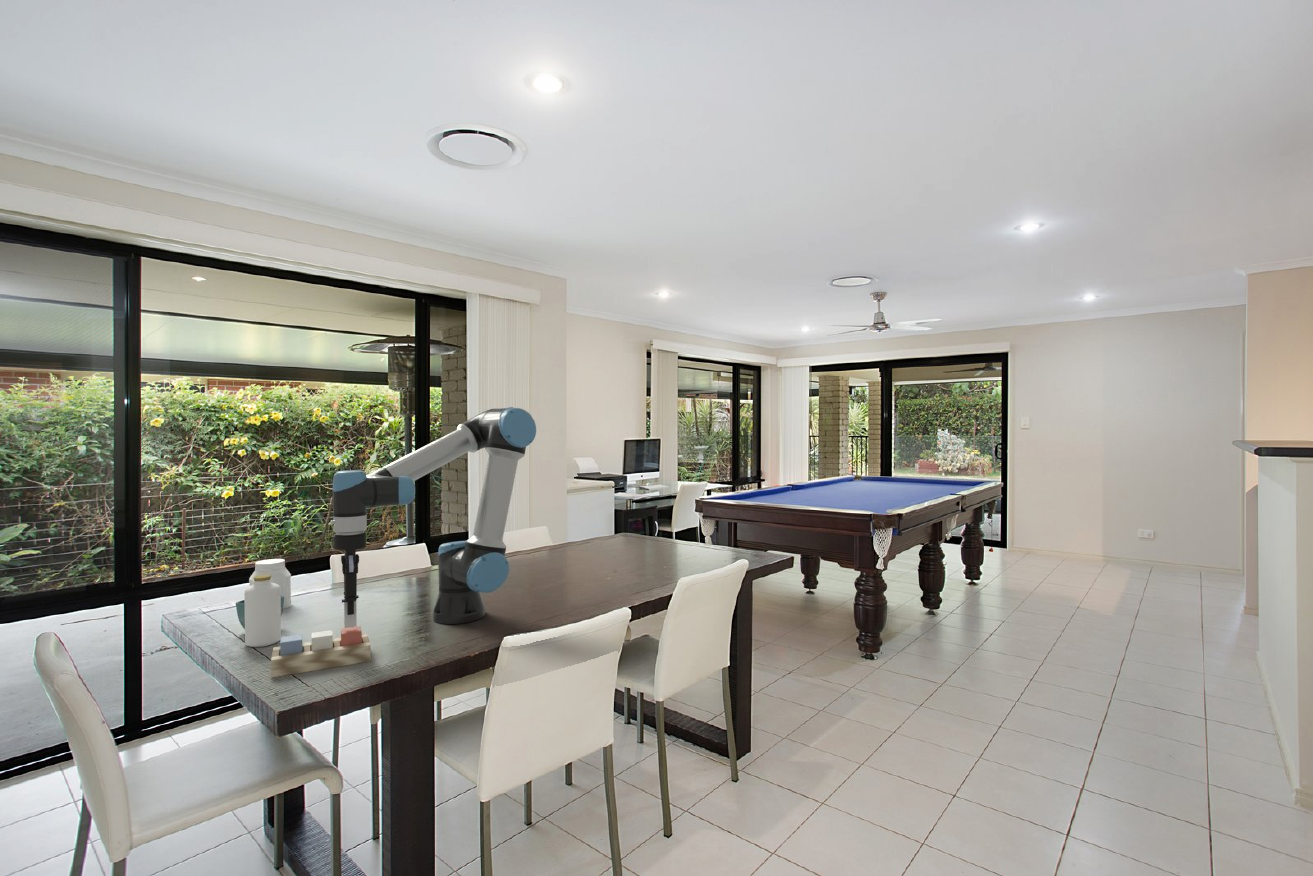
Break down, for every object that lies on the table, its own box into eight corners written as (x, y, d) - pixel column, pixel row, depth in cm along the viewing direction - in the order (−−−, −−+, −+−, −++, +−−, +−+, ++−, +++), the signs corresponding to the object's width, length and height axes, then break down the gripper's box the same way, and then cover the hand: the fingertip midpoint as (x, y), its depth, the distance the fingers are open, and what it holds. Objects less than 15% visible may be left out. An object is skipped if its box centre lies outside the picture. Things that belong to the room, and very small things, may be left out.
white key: (332, 650, 159) (332, 630, 159) (332, 655, 155) (332, 635, 155) (311, 653, 156) (311, 633, 156) (311, 658, 152) (311, 638, 152)
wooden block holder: (367, 649, 165) (367, 633, 165) (370, 661, 156) (370, 645, 156) (273, 663, 155) (273, 647, 155) (271, 677, 146) (271, 660, 146)
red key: (360, 645, 162) (360, 626, 162) (361, 651, 158) (361, 631, 158) (341, 648, 159) (340, 629, 159) (341, 654, 156) (341, 633, 155)
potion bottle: (255, 638, 174) (254, 573, 174) (287, 637, 175) (286, 572, 174) (238, 649, 166) (237, 580, 165) (271, 647, 166) (270, 579, 166)
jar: (284, 601, 212) (284, 556, 212) (295, 606, 206) (295, 560, 206) (245, 608, 204) (244, 562, 203) (255, 614, 197) (254, 566, 197)
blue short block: (302, 654, 155) (302, 634, 155) (302, 660, 151) (302, 639, 151) (281, 657, 153) (281, 637, 153) (280, 663, 149) (280, 642, 149)
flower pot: (261, 636, 176) (261, 604, 176) (234, 634, 178) (234, 602, 178) (285, 626, 185) (285, 595, 185) (260, 624, 187) (259, 594, 186)
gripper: (332, 530, 162) (332, 621, 162) (333, 537, 151) (334, 636, 151) (364, 528, 166) (365, 617, 166) (368, 535, 154) (368, 631, 154)
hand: (350, 626), depth 158 cm, fingers closed
